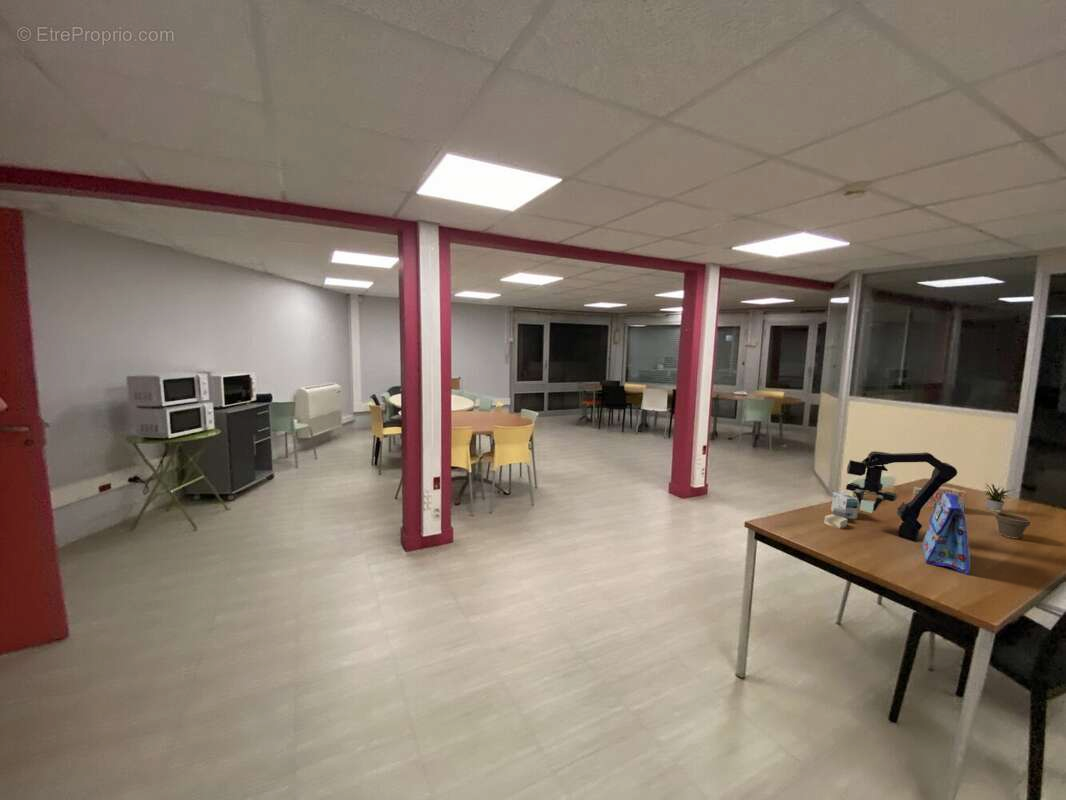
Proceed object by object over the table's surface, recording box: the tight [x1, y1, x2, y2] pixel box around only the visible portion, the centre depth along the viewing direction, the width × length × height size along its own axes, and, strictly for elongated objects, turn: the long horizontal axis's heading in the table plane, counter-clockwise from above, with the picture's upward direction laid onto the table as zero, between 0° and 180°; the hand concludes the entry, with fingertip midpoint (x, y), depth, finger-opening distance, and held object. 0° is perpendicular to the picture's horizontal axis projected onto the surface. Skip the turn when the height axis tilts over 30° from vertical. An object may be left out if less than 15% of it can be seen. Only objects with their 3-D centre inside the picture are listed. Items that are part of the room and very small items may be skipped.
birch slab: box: [823, 513, 849, 530], centre depth 211 cm, size 7×7×4 cm
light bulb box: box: [830, 491, 860, 520], centre depth 225 cm, size 11×7×11 cm, turn 179°
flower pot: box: [994, 512, 1031, 539], centre depth 208 cm, size 12×11×10 cm
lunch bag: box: [921, 493, 971, 575], centre depth 178 cm, size 22×14×29 cm, turn 141°
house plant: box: [983, 483, 1017, 511], centre depth 244 cm, size 14×14×16 cm
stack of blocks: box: [910, 485, 968, 513], centre depth 244 cm, size 21×6×12 cm, turn 57°
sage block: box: [859, 497, 877, 514], centre depth 207 cm, size 5×5×5 cm
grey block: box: [832, 508, 846, 518], centre depth 219 cm, size 5×5×5 cm
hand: (867, 508), depth 207 cm, fingers closed on sage block, 5 cm apart
